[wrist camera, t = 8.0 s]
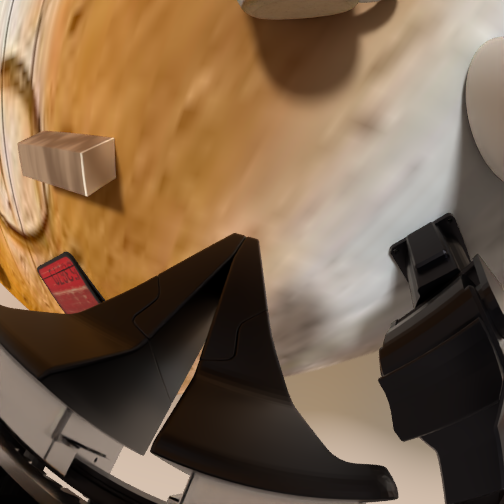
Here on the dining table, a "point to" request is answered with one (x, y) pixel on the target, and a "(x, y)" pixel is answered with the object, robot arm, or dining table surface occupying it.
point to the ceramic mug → (296, 8)
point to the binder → (69, 284)
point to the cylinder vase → (488, 103)
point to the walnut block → (69, 160)
